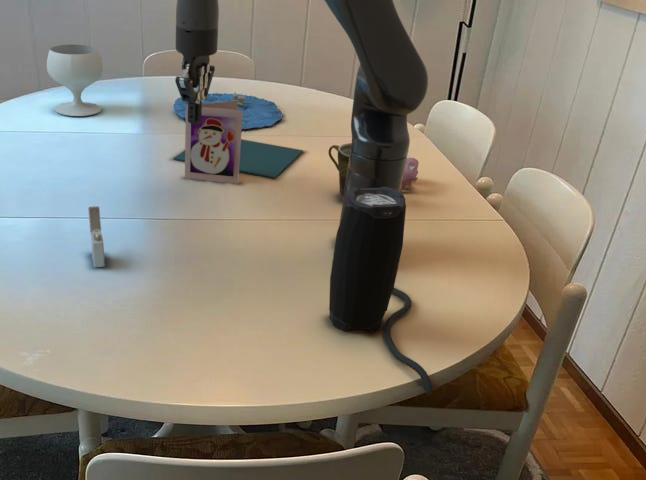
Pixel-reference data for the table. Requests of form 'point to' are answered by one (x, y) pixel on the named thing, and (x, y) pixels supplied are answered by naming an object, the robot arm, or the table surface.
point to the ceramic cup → (341, 164)
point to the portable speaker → (366, 257)
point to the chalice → (75, 75)
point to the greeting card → (214, 143)
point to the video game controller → (410, 172)
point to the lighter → (96, 237)
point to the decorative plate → (241, 108)
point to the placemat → (261, 158)
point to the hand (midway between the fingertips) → (194, 122)
